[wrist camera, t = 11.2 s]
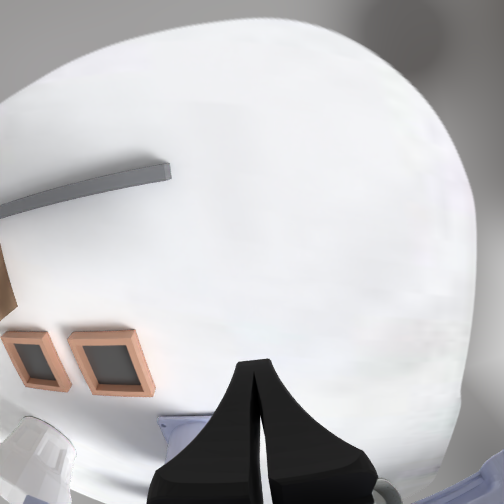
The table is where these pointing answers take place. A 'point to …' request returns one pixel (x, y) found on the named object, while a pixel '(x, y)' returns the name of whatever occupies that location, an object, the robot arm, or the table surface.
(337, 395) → the table surface
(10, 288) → the walnut block
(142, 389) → the trap pits
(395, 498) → the ceramic mug
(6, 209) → the hook tool
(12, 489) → the cup
